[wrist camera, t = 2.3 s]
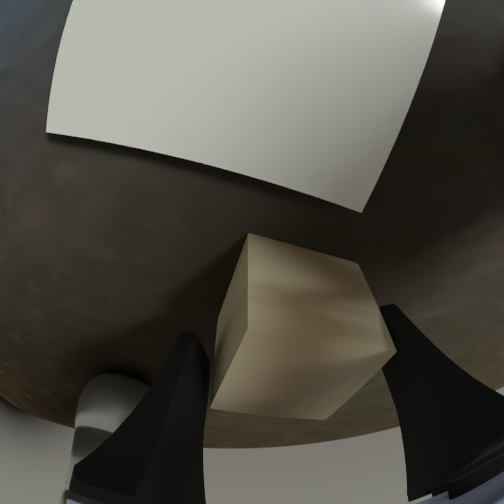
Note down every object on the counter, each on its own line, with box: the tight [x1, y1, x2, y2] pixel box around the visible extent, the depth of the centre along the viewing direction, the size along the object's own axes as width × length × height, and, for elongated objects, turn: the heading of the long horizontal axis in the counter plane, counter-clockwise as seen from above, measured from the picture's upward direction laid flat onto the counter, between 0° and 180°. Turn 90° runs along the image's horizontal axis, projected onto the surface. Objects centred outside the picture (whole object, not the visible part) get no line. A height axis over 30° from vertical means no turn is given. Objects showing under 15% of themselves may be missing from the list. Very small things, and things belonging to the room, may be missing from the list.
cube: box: [209, 233, 397, 419], centre depth 11 cm, size 5×5×5 cm
